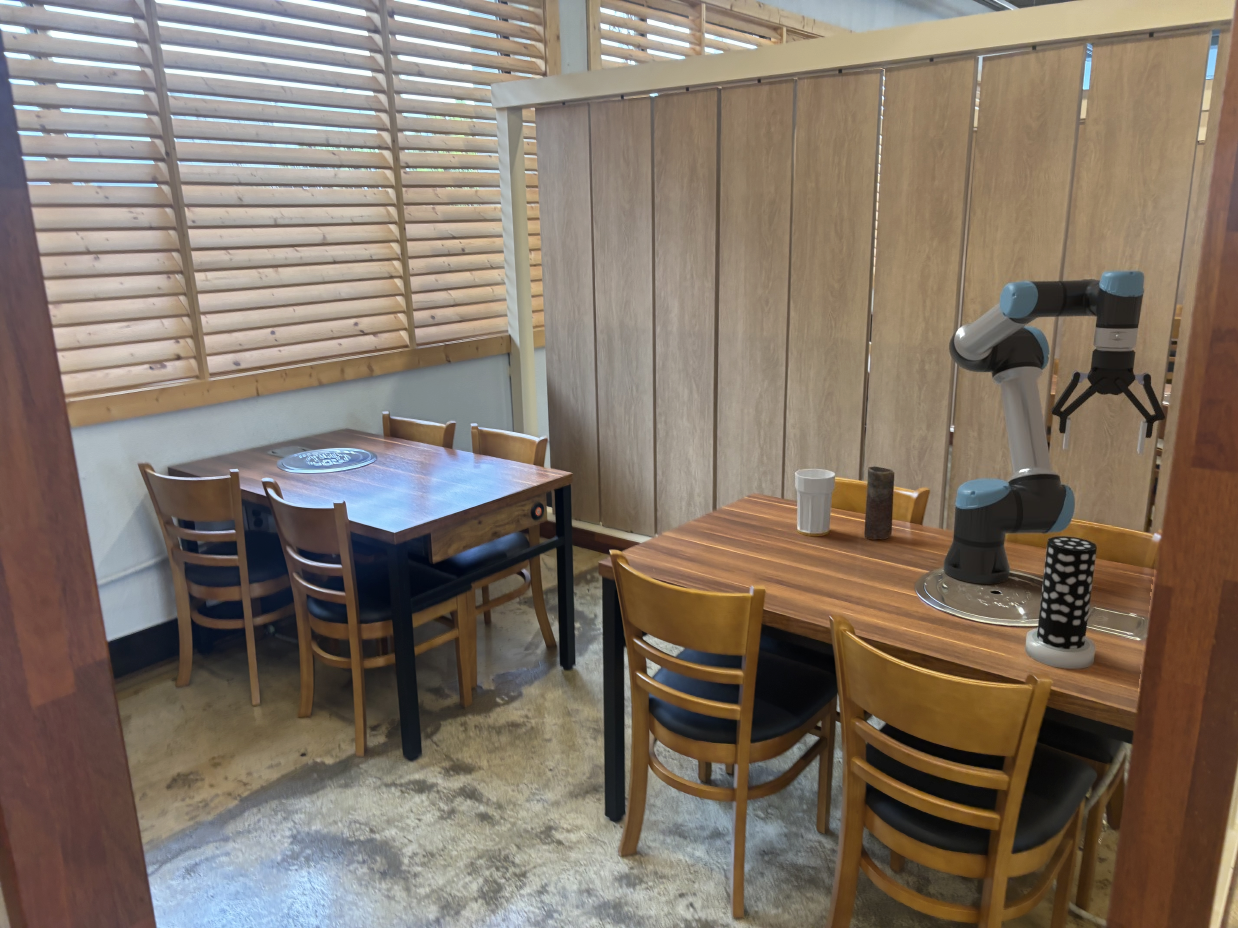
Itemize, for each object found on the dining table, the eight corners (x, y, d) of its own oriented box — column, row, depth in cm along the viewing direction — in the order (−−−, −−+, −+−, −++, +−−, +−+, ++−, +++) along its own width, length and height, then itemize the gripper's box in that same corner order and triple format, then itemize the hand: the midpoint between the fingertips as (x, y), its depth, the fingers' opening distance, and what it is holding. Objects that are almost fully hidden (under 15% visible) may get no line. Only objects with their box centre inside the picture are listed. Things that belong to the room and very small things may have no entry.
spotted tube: (1028, 631, 166) (1038, 537, 161) (1067, 629, 167) (1079, 535, 162) (1052, 650, 158) (1064, 551, 153) (1094, 647, 159) (1106, 549, 154)
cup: (837, 537, 235) (839, 478, 231) (797, 537, 235) (799, 478, 231) (828, 524, 246) (830, 468, 242) (789, 525, 246) (791, 469, 242)
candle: (869, 531, 239) (873, 464, 234) (895, 535, 235) (899, 467, 230) (860, 538, 233) (863, 469, 228) (886, 543, 229) (890, 473, 224)
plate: (1026, 662, 160) (1027, 647, 160) (1024, 637, 171) (1025, 622, 170) (1096, 673, 155) (1098, 658, 155) (1090, 646, 166) (1092, 632, 165)
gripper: (1046, 349, 169) (1036, 450, 174) (1191, 352, 159) (1176, 459, 164) (1044, 345, 176) (1034, 443, 181) (1183, 348, 166) (1169, 451, 171)
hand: (1102, 451), depth 172 cm, fingers open, 13 cm apart
